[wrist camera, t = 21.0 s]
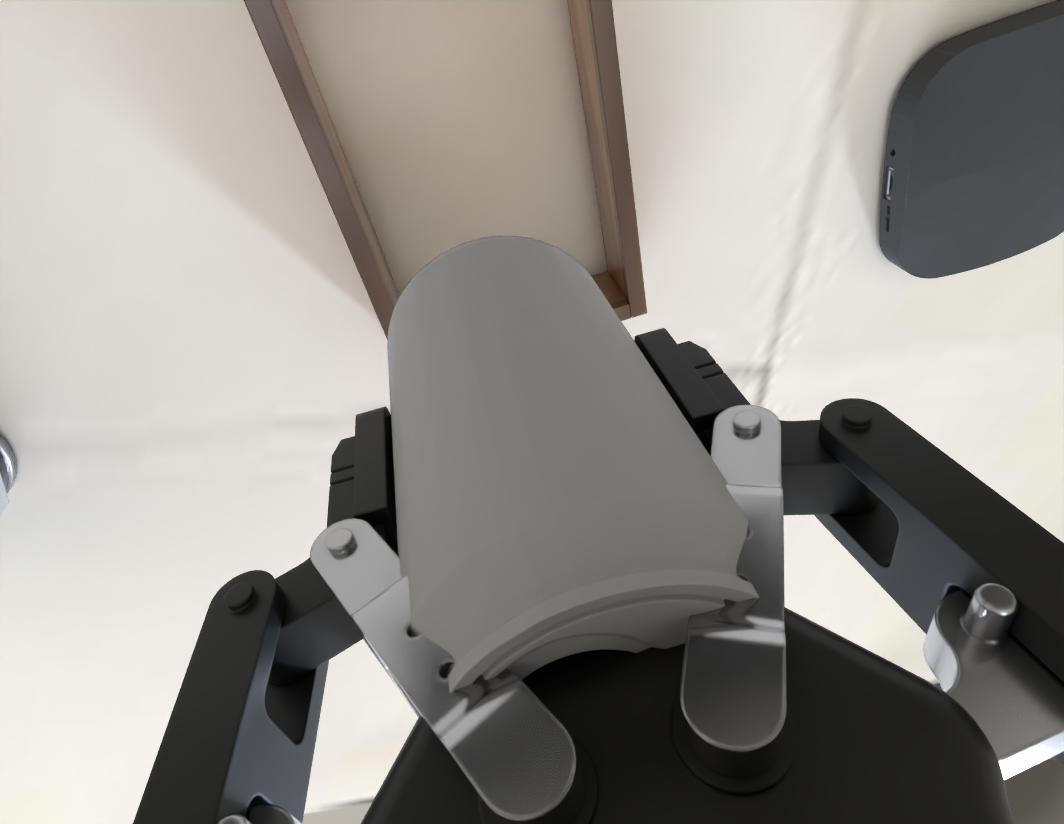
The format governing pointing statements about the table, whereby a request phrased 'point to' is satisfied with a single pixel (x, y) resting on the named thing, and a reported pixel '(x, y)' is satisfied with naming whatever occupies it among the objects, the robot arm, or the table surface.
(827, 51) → the table surface
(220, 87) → the table surface
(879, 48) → the table surface
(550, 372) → the beverage can
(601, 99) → the wooden tray
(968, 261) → the media streaming box
